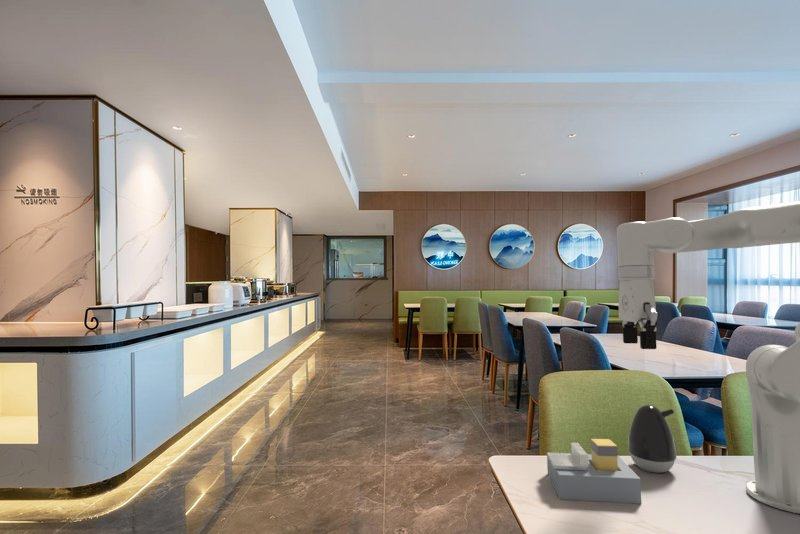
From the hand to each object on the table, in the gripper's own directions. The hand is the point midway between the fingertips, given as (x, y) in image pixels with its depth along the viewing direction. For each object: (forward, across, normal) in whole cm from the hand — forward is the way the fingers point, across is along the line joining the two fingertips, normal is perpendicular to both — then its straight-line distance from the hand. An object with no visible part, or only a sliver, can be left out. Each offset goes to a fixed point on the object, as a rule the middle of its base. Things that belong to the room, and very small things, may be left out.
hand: (639, 345), depth 99 cm
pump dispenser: (+31, -5, +4) cm, 31 cm away
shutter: (+25, +7, -19) cm, 32 cm away
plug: (+30, +7, -11) cm, 33 cm away
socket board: (+30, +7, -14) cm, 34 cm away
